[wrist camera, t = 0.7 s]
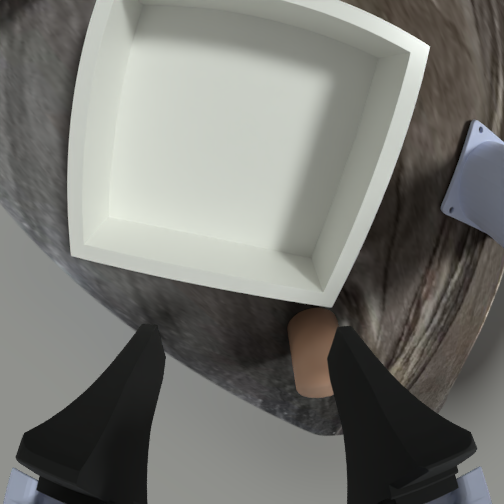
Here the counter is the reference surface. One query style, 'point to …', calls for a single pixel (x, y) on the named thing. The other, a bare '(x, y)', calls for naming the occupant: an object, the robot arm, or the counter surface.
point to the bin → (237, 140)
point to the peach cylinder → (312, 350)
